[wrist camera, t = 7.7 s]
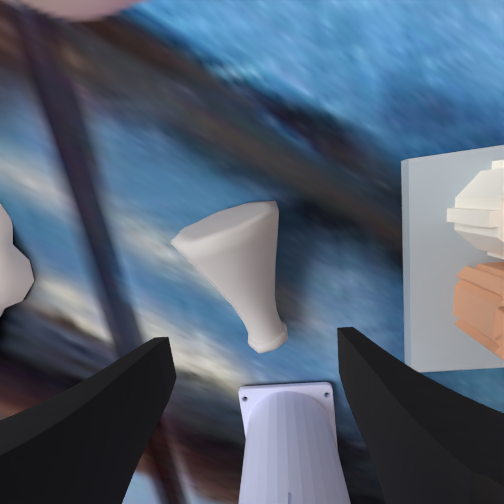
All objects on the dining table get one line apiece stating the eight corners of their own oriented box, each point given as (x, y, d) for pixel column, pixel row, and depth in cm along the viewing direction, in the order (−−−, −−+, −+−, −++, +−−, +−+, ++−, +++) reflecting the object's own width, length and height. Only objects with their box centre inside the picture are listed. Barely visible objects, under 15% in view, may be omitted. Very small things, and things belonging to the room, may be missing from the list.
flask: (299, 202, 13) (335, 345, 17) (258, 192, 20) (290, 296, 24) (166, 255, 12) (235, 396, 16) (169, 227, 19) (217, 330, 23)
